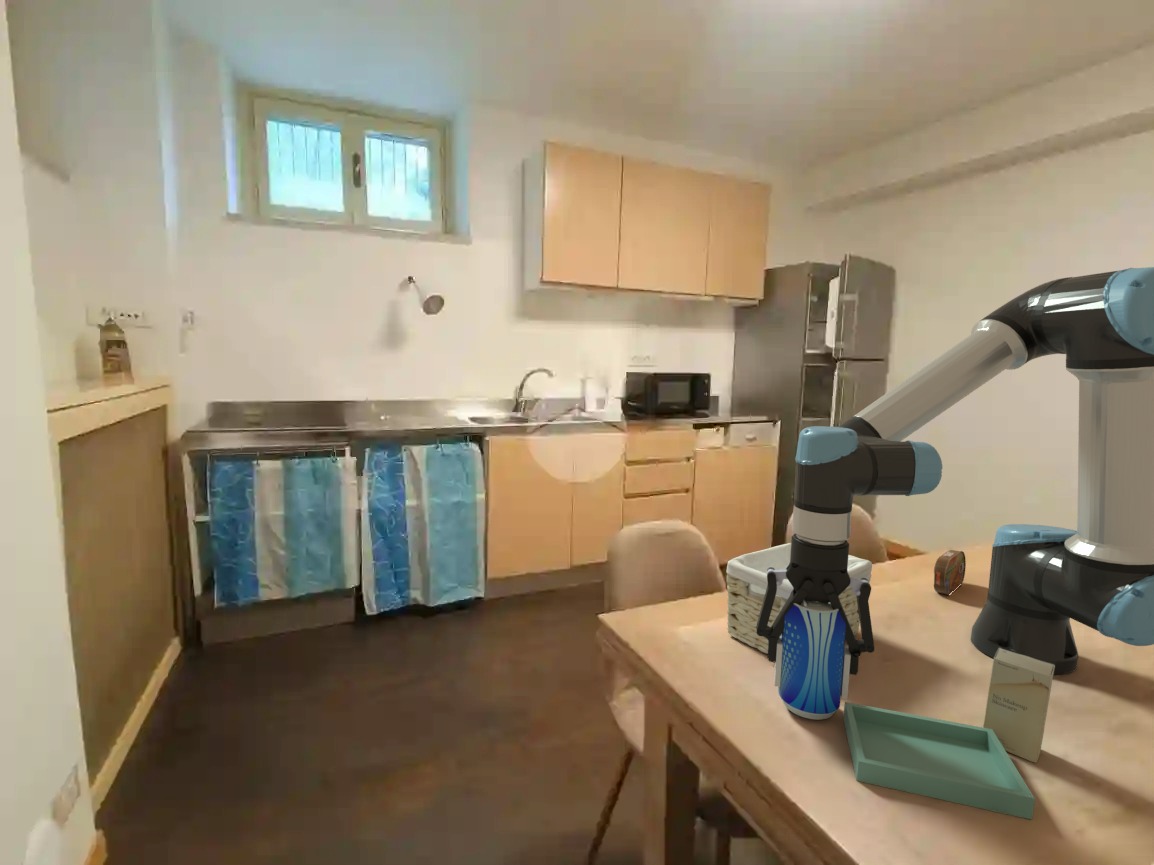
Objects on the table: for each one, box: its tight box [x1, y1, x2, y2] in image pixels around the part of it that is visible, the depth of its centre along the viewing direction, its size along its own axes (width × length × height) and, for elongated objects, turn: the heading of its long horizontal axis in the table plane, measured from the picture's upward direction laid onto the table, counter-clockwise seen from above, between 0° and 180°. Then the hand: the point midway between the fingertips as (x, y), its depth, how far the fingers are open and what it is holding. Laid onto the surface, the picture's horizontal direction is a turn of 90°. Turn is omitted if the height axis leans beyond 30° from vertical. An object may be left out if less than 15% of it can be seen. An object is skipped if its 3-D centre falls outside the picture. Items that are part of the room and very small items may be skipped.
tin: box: [933, 549, 967, 596], centre depth 132 cm, size 15×3×8 cm, turn 132°
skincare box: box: [982, 648, 1055, 764], centre depth 77 cm, size 6×4×12 cm
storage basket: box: [726, 542, 873, 655], centre depth 107 cm, size 24×16×15 cm
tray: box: [842, 701, 1036, 821], centre depth 74 cm, size 18×13×3 cm
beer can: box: [778, 600, 846, 721], centre depth 84 cm, size 8×8×16 cm
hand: (809, 687), depth 85 cm, fingers closed on beer can, 8 cm apart
